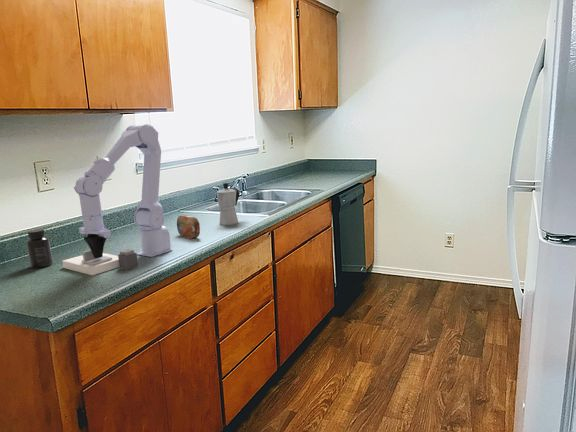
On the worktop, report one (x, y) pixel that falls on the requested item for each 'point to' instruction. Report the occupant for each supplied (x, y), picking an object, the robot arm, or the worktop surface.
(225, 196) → the coffee maker
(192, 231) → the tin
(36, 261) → the supplement bottle
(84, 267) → the socket plate
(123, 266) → the plug
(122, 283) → the worktop surface
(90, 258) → the shutter
